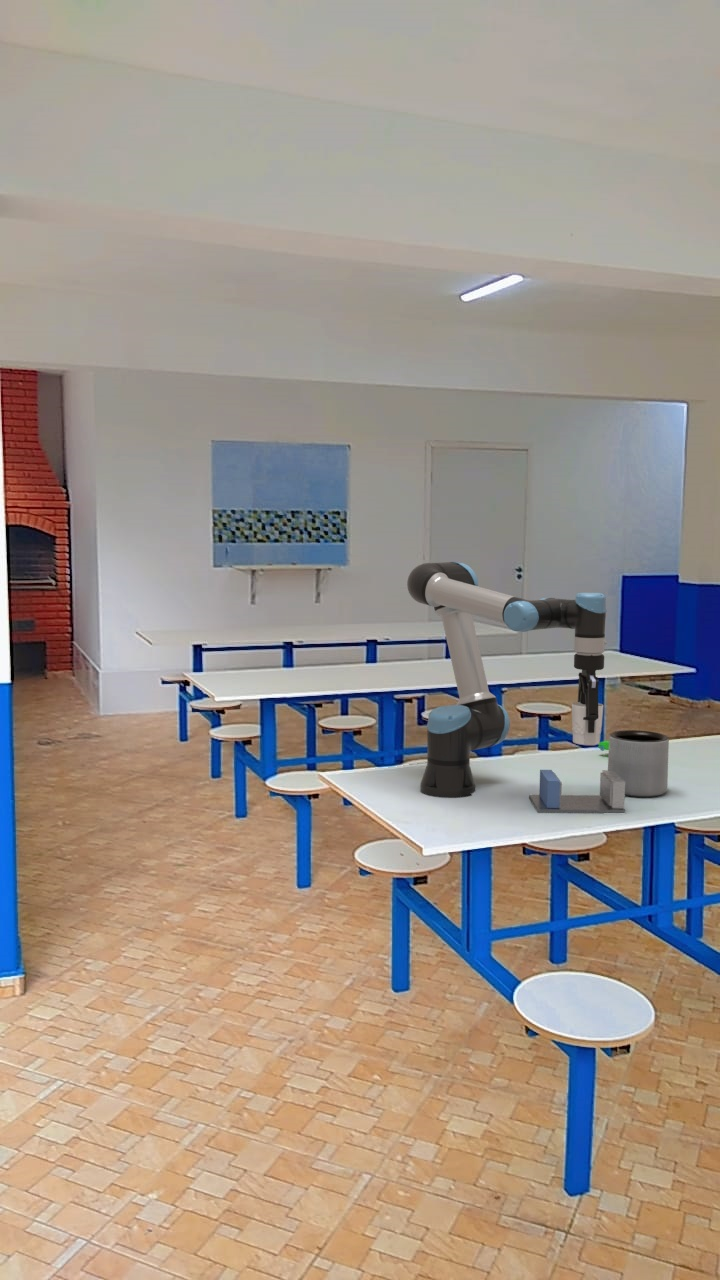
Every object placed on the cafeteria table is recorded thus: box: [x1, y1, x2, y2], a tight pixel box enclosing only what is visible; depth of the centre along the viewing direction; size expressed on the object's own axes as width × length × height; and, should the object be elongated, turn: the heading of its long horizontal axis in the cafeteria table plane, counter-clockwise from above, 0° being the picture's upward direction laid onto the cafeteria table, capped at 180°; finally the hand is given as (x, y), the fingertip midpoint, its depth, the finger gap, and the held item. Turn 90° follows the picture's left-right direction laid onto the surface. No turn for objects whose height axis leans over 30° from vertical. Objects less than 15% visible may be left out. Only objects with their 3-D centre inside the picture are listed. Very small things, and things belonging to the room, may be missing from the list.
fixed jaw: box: [599, 769, 626, 809], centre depth 261 cm, size 4×12×7 cm, turn 179°
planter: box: [607, 729, 670, 798], centre depth 276 cm, size 16×16×16 cm
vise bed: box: [528, 794, 626, 815], centre depth 261 cm, size 22×14×1 cm, turn 89°
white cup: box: [571, 701, 604, 746], centre depth 258 cm, size 8×8×10 cm
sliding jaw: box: [538, 769, 563, 808], centre depth 261 cm, size 4×12×7 cm, turn 179°
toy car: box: [598, 739, 609, 752], centre depth 327 cm, size 11×7×7 cm, turn 40°
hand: (586, 741), depth 259 cm, fingers closed on white cup, 7 cm apart
